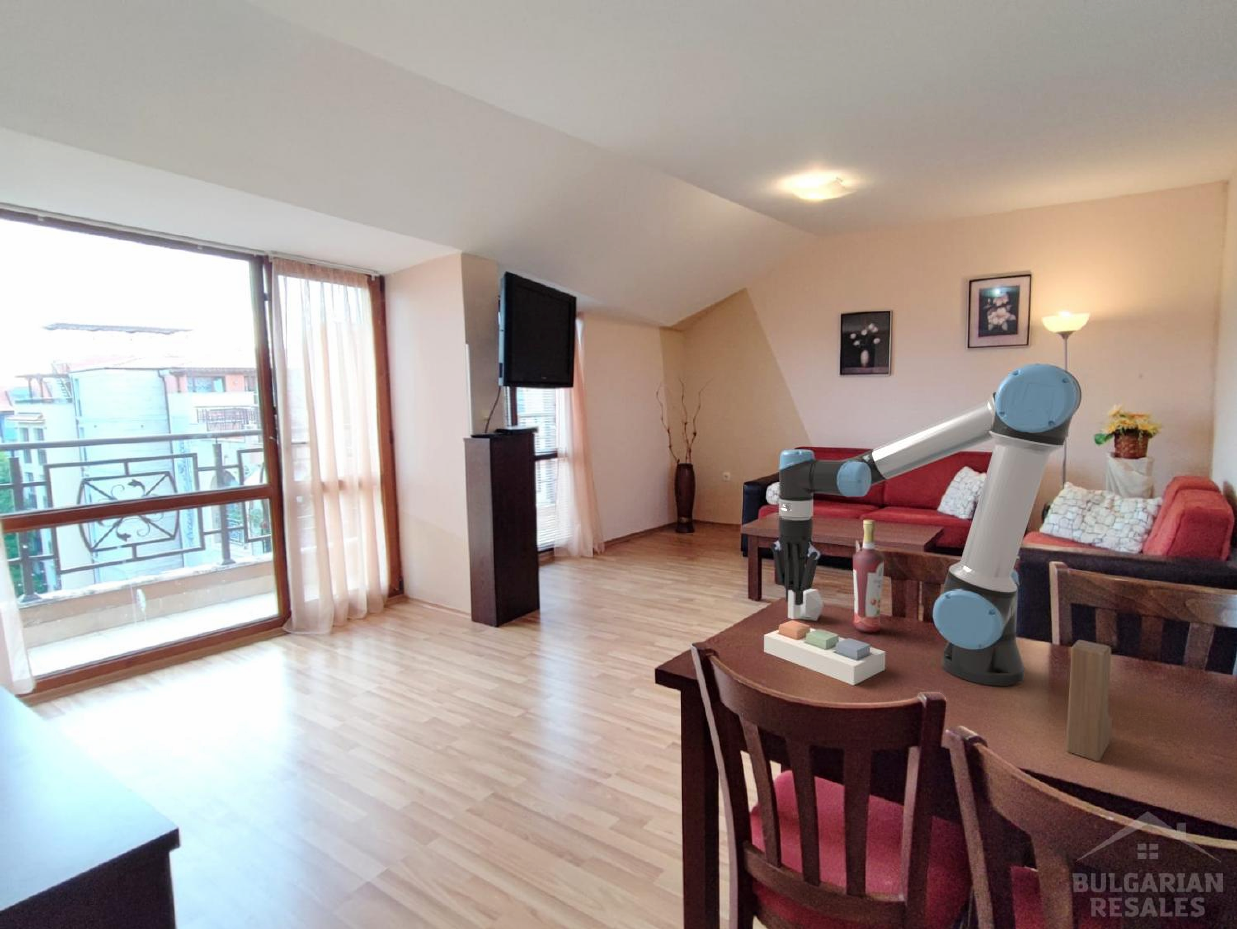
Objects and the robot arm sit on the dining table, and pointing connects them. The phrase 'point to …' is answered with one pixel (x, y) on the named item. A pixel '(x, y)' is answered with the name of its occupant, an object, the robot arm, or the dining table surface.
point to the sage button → (822, 639)
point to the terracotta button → (794, 630)
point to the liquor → (867, 582)
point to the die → (811, 605)
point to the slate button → (853, 649)
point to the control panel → (824, 658)
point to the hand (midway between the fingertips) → (794, 617)
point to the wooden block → (1089, 700)
